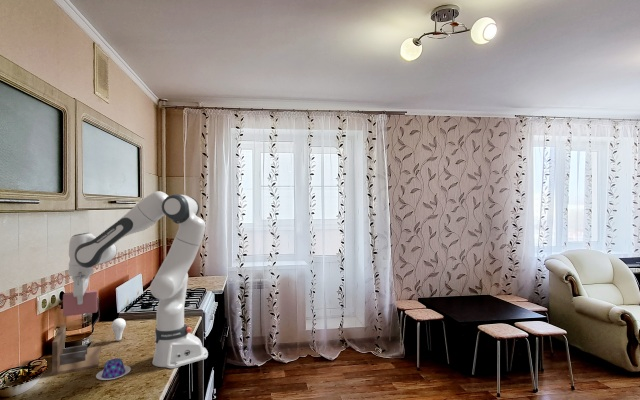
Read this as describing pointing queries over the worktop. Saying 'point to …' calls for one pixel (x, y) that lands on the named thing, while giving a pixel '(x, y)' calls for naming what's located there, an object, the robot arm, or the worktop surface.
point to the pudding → (113, 369)
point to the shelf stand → (72, 355)
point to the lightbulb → (118, 328)
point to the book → (86, 307)
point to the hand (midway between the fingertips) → (80, 302)
